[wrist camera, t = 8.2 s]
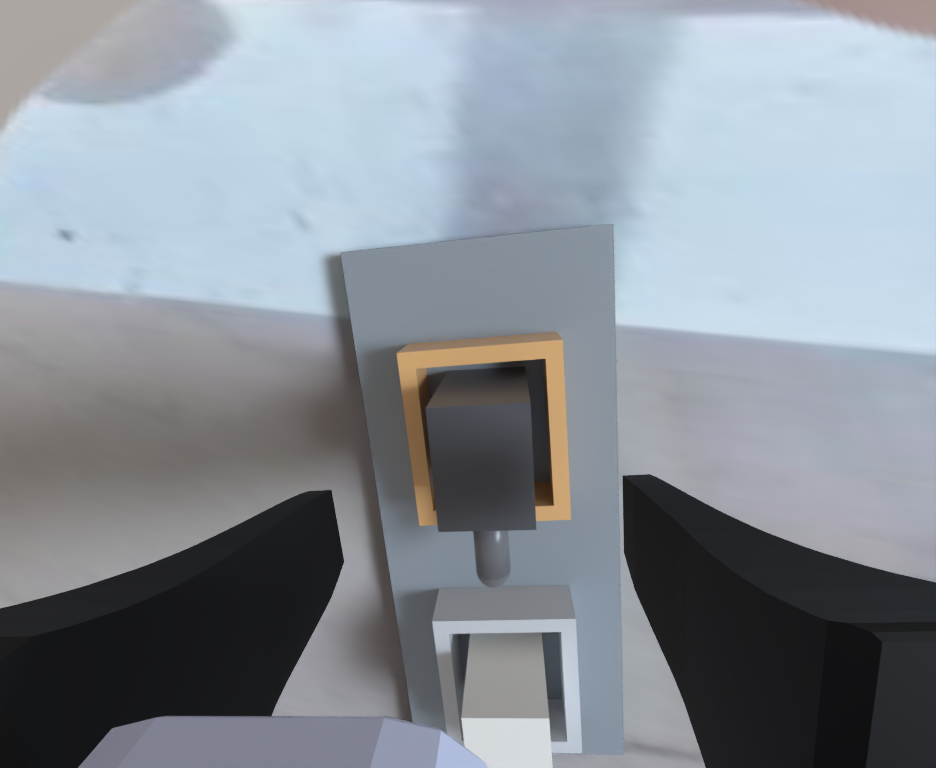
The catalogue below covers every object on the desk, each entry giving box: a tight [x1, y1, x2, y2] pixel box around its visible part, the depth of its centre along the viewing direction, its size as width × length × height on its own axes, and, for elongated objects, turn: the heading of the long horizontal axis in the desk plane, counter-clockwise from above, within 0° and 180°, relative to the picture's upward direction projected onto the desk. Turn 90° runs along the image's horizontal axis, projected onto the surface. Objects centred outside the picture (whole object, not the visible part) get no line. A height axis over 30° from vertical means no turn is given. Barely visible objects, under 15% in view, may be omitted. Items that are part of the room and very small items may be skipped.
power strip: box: [340, 224, 624, 768], centre depth 18 cm, size 24×10×6 cm, turn 5°
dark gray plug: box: [426, 366, 536, 588], centre depth 16 cm, size 7×3×5 cm, turn 4°
